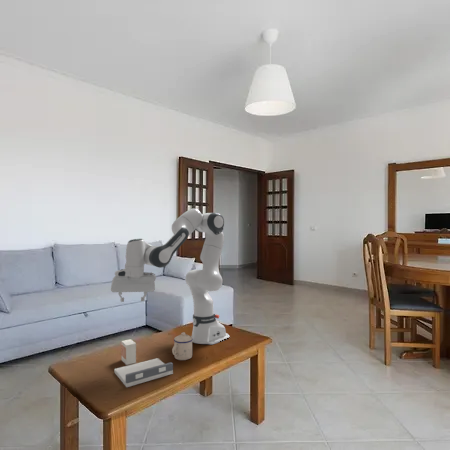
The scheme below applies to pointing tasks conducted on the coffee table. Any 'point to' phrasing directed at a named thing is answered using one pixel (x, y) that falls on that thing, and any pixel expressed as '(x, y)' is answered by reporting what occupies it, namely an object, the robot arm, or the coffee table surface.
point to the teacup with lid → (182, 347)
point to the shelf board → (143, 371)
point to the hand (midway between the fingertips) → (132, 301)
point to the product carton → (128, 351)
